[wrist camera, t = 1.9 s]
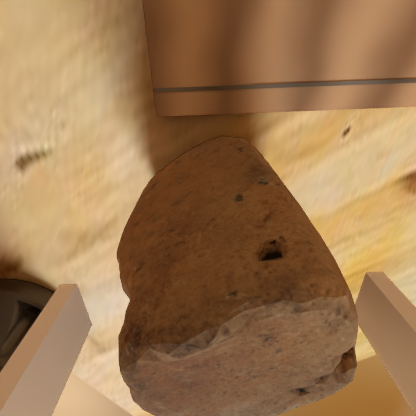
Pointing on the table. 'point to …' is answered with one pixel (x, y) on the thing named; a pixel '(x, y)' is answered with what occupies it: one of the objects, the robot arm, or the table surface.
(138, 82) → the table surface
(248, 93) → the board
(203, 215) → the brown pitted rock
